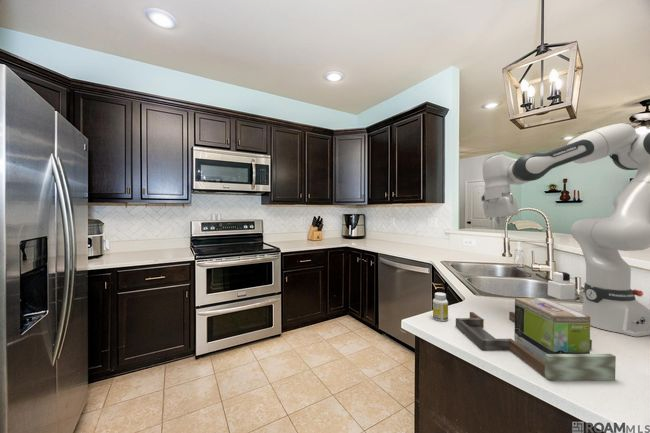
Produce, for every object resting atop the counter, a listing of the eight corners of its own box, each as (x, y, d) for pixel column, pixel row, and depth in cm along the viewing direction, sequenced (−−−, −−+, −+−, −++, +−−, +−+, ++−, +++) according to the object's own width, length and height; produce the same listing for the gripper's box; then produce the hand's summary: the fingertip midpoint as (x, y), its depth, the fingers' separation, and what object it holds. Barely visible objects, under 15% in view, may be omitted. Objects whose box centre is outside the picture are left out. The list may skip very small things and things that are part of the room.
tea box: (591, 371, 69) (592, 315, 68) (552, 371, 69) (553, 315, 69) (544, 342, 84) (545, 296, 83) (512, 342, 84) (513, 296, 84)
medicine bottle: (561, 294, 130) (561, 270, 130) (575, 299, 123) (575, 274, 123) (547, 295, 130) (547, 270, 129) (560, 299, 123) (561, 274, 122)
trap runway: (533, 319, 101) (533, 303, 101) (648, 380, 65) (649, 356, 65) (448, 319, 102) (448, 304, 101) (515, 380, 65) (515, 356, 65)
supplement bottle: (446, 316, 105) (446, 292, 104) (449, 322, 99) (449, 296, 99) (432, 315, 106) (432, 291, 106) (433, 320, 101) (433, 295, 101)
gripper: (520, 190, 98) (525, 227, 97) (494, 196, 118) (498, 227, 117) (502, 191, 99) (506, 228, 98) (479, 198, 119) (483, 228, 118)
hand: (502, 228), depth 108 cm, fingers closed
